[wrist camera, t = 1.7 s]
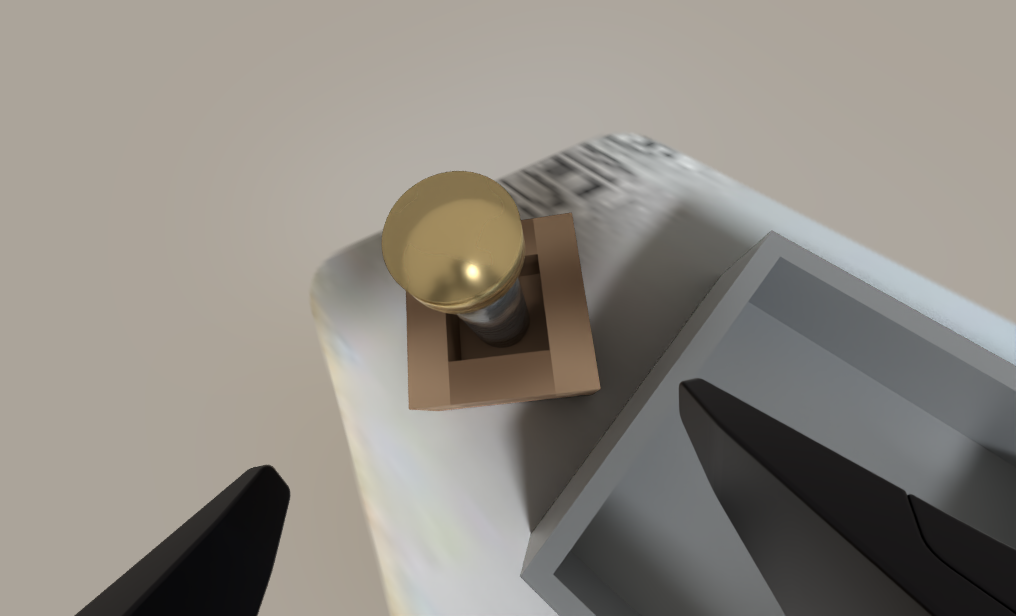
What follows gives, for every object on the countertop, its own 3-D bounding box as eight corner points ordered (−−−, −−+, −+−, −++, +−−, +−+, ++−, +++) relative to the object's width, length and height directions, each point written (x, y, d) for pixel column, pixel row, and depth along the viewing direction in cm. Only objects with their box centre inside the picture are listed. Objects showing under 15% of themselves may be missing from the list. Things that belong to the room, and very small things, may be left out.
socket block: (592, 394, 19) (600, 388, 15) (437, 410, 20) (408, 409, 16) (569, 248, 22) (571, 212, 18) (431, 268, 22) (404, 238, 19)
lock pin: (544, 353, 19) (529, 290, 10) (467, 362, 19) (382, 310, 10) (535, 279, 20) (513, 160, 11) (462, 289, 20) (381, 183, 11)
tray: (1080, 493, 16) (1306, 527, 11) (885, 869, 14) (1058, 1110, 9) (721, 274, 20) (771, 230, 15) (530, 534, 18) (519, 576, 13)
